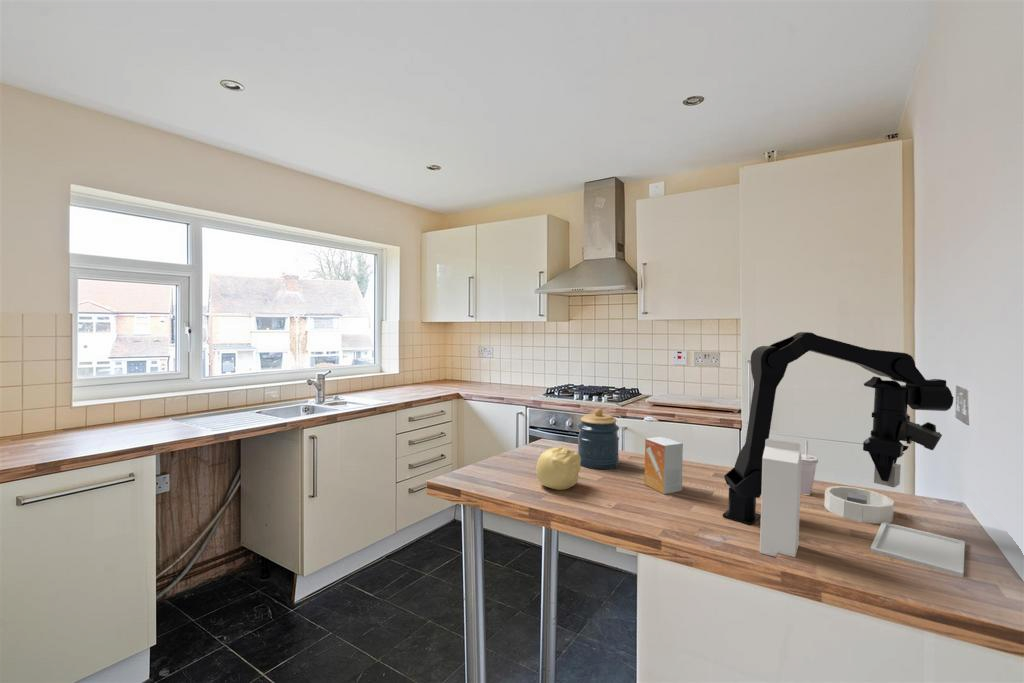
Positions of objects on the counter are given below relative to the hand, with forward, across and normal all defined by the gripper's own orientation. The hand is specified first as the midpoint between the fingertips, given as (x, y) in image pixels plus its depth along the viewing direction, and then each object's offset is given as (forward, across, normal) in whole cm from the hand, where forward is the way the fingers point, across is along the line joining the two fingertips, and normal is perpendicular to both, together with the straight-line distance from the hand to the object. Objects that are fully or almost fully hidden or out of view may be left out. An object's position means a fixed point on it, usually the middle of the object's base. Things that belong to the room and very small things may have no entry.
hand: (886, 478), depth 104 cm
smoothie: (+11, +10, +18) cm, 24 cm away
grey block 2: (+1, 0, 0) cm, 1 cm away
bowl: (+11, +3, +5) cm, 12 cm away
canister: (+12, -8, +71) cm, 72 cm away
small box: (+12, -14, +46) cm, 49 cm away
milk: (+11, -30, +12) cm, 34 cm away
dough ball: (+12, -33, +66) cm, 75 cm away
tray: (+11, -10, -7) cm, 16 cm away
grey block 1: (+10, +1, +5) cm, 11 cm away
